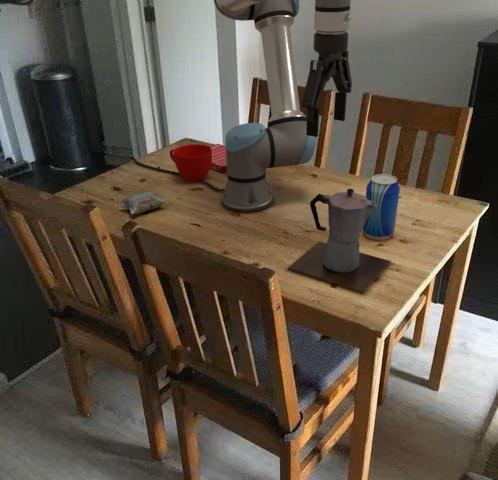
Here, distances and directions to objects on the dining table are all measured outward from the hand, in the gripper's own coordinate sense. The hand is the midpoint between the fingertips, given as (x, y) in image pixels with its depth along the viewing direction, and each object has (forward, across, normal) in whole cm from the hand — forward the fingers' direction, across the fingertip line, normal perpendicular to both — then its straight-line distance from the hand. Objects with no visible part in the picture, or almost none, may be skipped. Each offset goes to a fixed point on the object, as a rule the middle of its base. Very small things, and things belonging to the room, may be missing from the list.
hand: (326, 127), depth 131 cm
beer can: (+30, +10, -13) cm, 34 cm away
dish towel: (+32, +34, +60) cm, 76 cm away
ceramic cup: (+32, +15, +59) cm, 69 cm away
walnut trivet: (+30, -12, -12) cm, 34 cm away
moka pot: (+29, -12, -12) cm, 33 cm away
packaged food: (+31, -13, +54) cm, 64 cm away
